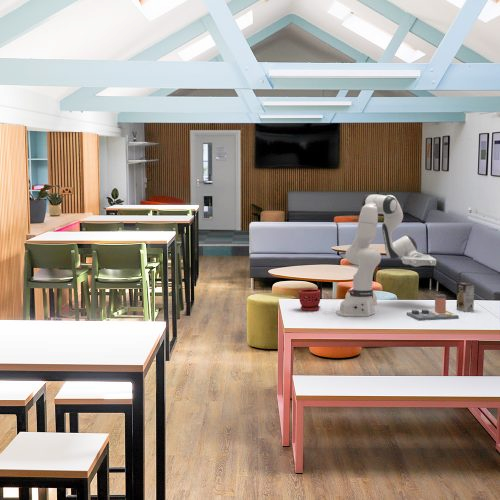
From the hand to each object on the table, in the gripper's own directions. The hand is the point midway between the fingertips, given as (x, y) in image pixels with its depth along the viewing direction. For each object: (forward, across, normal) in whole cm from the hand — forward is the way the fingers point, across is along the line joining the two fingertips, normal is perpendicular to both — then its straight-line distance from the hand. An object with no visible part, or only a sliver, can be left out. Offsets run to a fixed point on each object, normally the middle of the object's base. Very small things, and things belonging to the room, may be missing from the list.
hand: (423, 263), depth 461 cm
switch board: (+24, 0, +26) cm, 35 cm away
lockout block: (+21, +5, +24) cm, 32 cm away
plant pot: (-9, -64, +33) cm, 73 cm away
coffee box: (+8, +26, +26) cm, 37 cm away
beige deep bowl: (-25, -28, +32) cm, 50 cm away
